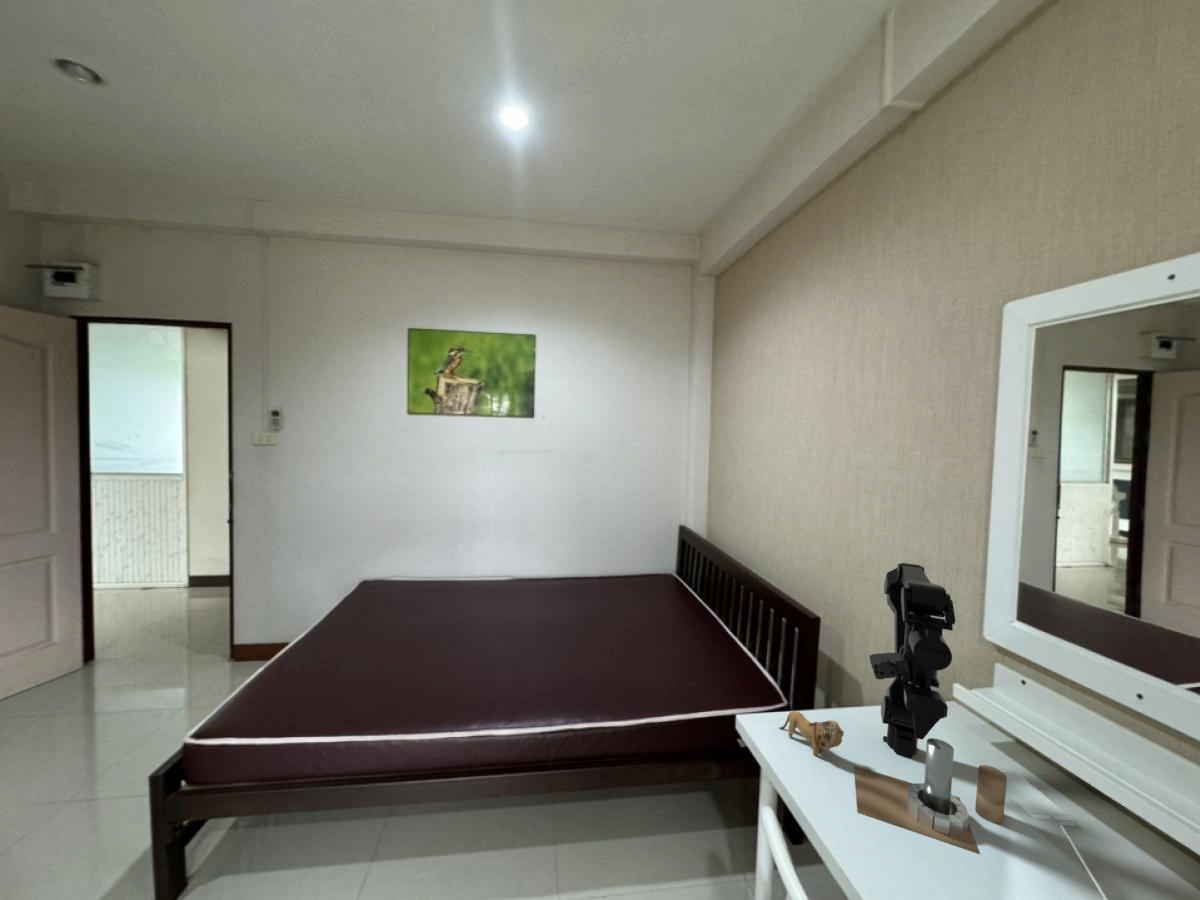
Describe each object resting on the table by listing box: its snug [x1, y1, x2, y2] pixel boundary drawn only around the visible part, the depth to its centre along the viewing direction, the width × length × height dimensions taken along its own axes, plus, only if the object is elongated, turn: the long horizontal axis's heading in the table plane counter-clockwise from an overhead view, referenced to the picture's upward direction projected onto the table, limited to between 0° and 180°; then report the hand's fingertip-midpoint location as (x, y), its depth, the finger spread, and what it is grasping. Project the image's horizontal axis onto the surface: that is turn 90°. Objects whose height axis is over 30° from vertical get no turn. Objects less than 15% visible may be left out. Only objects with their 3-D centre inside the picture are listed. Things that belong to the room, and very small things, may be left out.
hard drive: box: [1002, 771, 1077, 827], centre depth 94 cm, size 2×8×12 cm
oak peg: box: [974, 764, 1007, 825], centre depth 88 cm, size 4×4×9 cm
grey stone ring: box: [906, 782, 970, 836], centre depth 88 cm, size 9×9×2 cm
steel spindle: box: [923, 738, 955, 815], centre depth 87 cm, size 4×4×13 cm
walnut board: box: [853, 765, 981, 855], centre depth 90 cm, size 14×18×1 cm
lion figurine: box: [778, 710, 844, 757], centre depth 106 cm, size 15×5×9 cm, turn 37°
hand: (915, 725), depth 95 cm, fingers open, 9 cm apart
